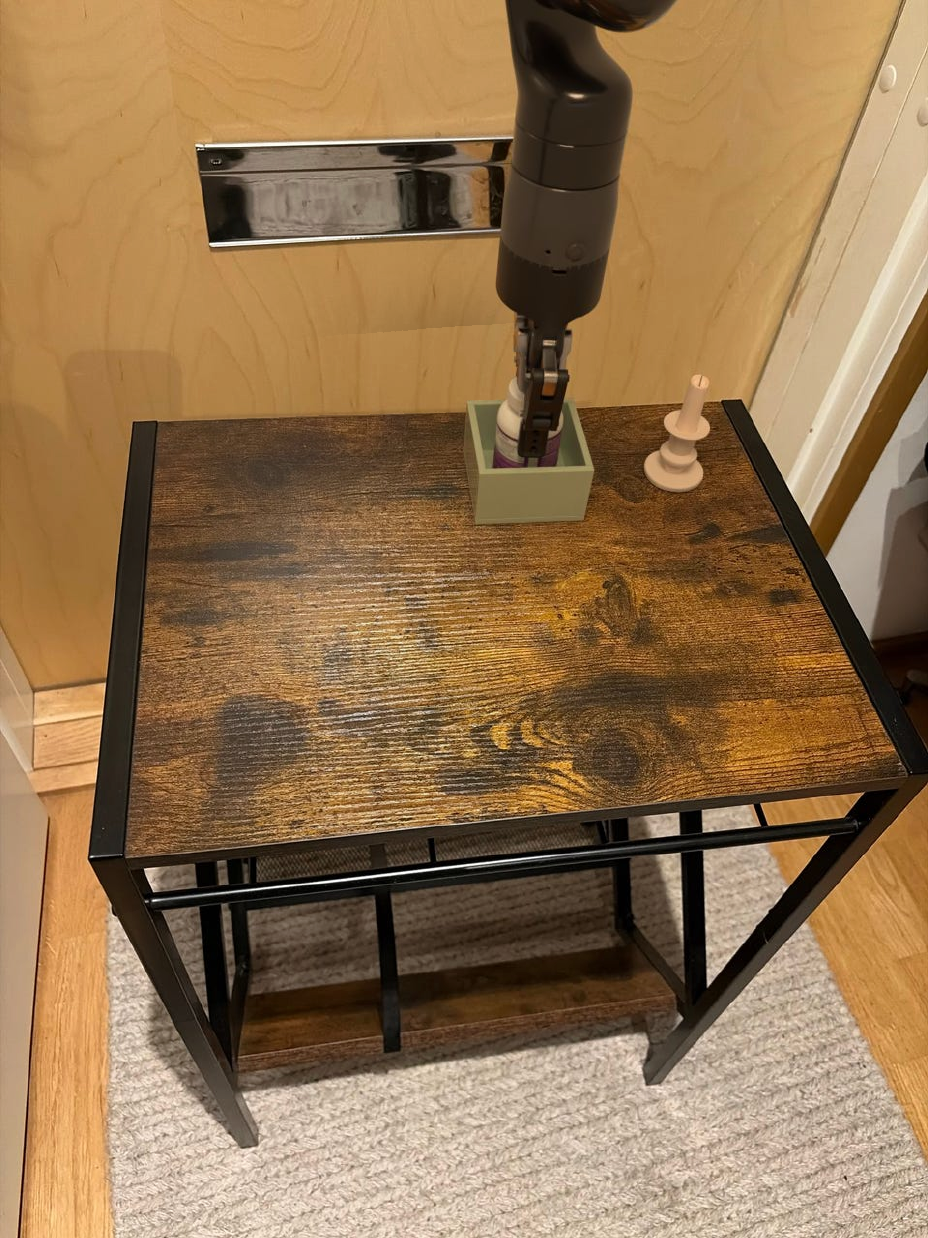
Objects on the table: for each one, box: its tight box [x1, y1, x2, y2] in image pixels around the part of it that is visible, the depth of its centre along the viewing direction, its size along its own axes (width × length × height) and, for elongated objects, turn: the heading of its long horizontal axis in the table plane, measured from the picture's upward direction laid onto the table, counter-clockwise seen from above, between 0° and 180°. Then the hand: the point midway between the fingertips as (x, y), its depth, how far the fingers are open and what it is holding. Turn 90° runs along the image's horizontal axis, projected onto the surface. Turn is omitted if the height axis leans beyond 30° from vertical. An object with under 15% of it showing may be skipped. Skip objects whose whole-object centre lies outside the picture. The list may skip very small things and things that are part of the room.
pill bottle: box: [492, 373, 563, 469], centre depth 77 cm, size 5×5×10 cm
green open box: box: [462, 397, 595, 526], centre depth 79 cm, size 9×9×6 cm
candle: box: [642, 374, 711, 493], centre depth 79 cm, size 5×5×10 cm
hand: (528, 430), depth 76 cm, fingers closed on pill bottle, 5 cm apart
